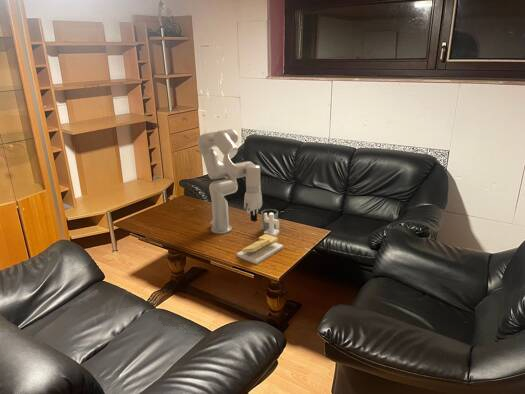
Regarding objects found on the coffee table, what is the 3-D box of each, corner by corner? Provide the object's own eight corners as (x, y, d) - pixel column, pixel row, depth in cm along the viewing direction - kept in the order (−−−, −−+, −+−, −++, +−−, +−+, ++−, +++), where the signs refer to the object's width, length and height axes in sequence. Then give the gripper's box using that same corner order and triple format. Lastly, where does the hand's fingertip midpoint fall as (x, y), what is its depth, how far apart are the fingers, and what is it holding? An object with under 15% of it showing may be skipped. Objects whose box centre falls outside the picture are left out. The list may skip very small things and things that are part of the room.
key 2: (251, 247, 213) (250, 244, 213) (258, 243, 217) (257, 240, 217) (263, 246, 207) (262, 243, 206) (270, 242, 211) (269, 239, 211)
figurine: (276, 240, 226) (275, 216, 221) (261, 237, 230) (261, 214, 225) (281, 236, 232) (281, 212, 227) (267, 233, 236) (267, 210, 231)
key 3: (242, 252, 208) (241, 249, 208) (250, 248, 212) (249, 245, 212) (254, 251, 201) (253, 248, 201) (262, 247, 206) (260, 243, 206)
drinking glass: (276, 234, 235) (276, 215, 231) (260, 232, 237) (259, 214, 232) (279, 227, 244) (279, 209, 240) (263, 226, 246) (263, 208, 242)
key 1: (258, 240, 218) (258, 237, 217) (265, 236, 222) (265, 233, 221) (271, 244, 212) (271, 241, 211) (278, 240, 216) (278, 237, 216)
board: (236, 256, 209) (236, 249, 208) (264, 241, 226) (264, 235, 225) (256, 264, 201) (256, 257, 200) (283, 247, 217) (283, 241, 216)
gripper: (257, 183, 211) (257, 214, 218) (238, 190, 201) (239, 223, 207) (267, 186, 207) (268, 218, 213) (249, 194, 196) (249, 227, 203)
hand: (253, 220), depth 210 cm, fingers closed
